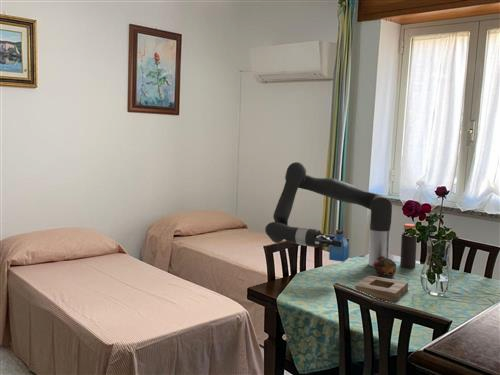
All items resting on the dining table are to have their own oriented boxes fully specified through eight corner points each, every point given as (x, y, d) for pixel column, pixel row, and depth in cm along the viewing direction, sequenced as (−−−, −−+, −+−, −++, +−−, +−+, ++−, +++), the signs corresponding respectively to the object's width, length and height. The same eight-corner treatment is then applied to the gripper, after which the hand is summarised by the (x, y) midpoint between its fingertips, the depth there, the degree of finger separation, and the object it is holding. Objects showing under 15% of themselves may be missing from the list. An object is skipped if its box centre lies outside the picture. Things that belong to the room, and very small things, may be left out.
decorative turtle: (388, 270, 226) (389, 253, 225) (402, 281, 211) (403, 262, 210) (368, 271, 225) (368, 254, 224) (380, 281, 210) (381, 263, 209)
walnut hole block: (369, 283, 207) (369, 275, 207) (407, 290, 199) (408, 282, 198) (354, 294, 194) (355, 285, 194) (395, 302, 185) (395, 293, 185)
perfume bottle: (329, 259, 205) (330, 231, 203) (334, 256, 210) (335, 228, 209) (343, 261, 202) (344, 232, 200) (348, 258, 207) (349, 230, 206)
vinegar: (397, 266, 233) (399, 224, 231) (405, 263, 238) (407, 222, 235) (410, 269, 228) (412, 226, 226) (418, 266, 233) (420, 224, 230)
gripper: (300, 231, 207) (337, 236, 197) (316, 225, 218) (351, 230, 209) (300, 249, 208) (337, 255, 198) (315, 242, 219) (351, 248, 210)
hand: (344, 242), depth 204 cm, fingers closed on perfume bottle, 6 cm apart
